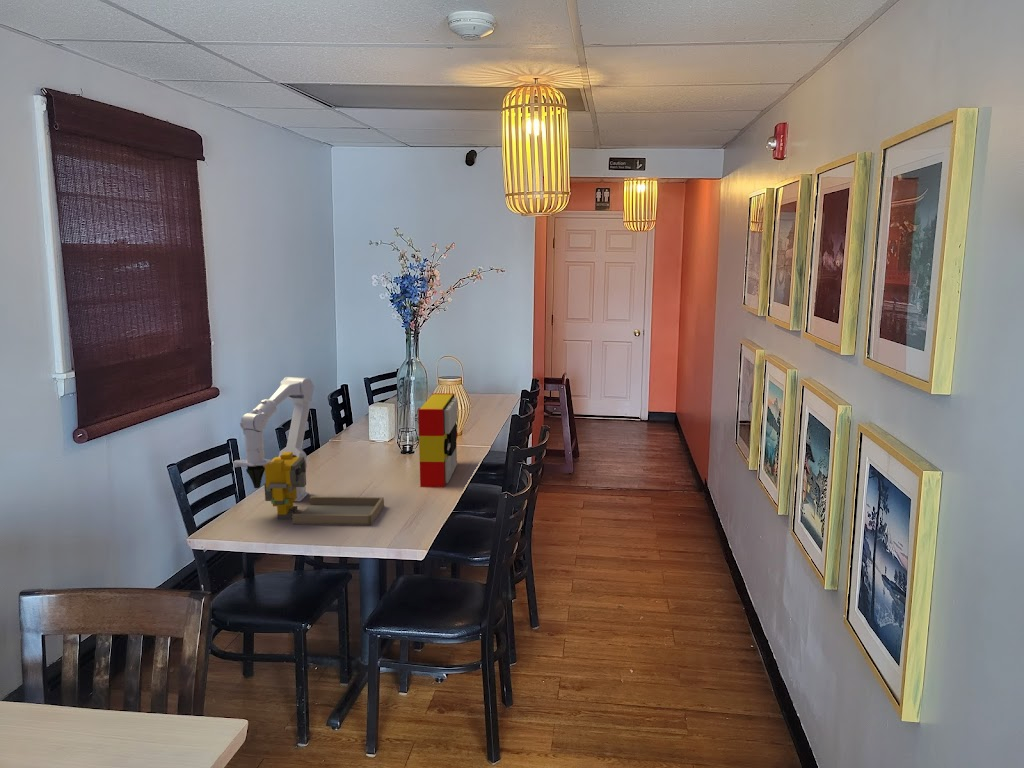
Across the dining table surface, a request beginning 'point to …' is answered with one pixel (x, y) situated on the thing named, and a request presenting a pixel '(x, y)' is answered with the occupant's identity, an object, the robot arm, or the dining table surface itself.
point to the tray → (340, 511)
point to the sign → (437, 439)
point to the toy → (284, 482)
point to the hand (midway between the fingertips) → (257, 487)
